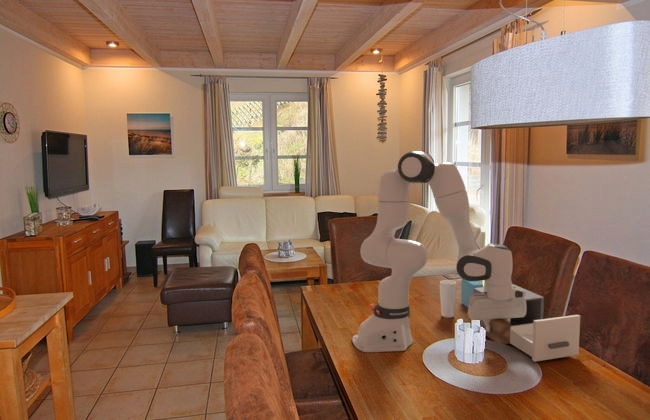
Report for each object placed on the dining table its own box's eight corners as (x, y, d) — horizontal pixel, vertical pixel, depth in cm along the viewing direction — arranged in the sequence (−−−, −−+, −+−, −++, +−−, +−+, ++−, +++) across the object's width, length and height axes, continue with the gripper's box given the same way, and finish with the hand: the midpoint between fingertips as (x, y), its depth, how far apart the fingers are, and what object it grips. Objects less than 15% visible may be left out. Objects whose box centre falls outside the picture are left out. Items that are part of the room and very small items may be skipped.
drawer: (537, 363, 148) (538, 323, 146) (500, 340, 166) (501, 304, 164) (581, 356, 152) (583, 317, 150) (540, 334, 170) (542, 299, 168)
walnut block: (499, 344, 151) (499, 323, 150) (483, 333, 161) (483, 314, 160) (509, 343, 152) (510, 322, 151) (493, 332, 161) (494, 313, 161)
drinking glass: (457, 314, 196) (457, 280, 194) (454, 319, 190) (454, 284, 188) (441, 312, 199) (441, 279, 197) (438, 317, 193) (438, 283, 191)
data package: (483, 311, 200) (483, 284, 198) (473, 311, 199) (474, 285, 197) (469, 302, 211) (470, 277, 210) (460, 303, 211) (461, 278, 209)
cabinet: (500, 343, 166) (501, 302, 164) (472, 325, 183) (473, 288, 181) (542, 337, 170) (544, 297, 168) (511, 320, 187) (512, 283, 185)
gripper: (474, 295, 150) (473, 336, 151) (530, 292, 153) (528, 331, 155) (464, 290, 156) (463, 329, 157) (518, 287, 160) (517, 325, 161)
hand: (496, 330), depth 156 cm, fingers closed on walnut block, 4 cm apart
